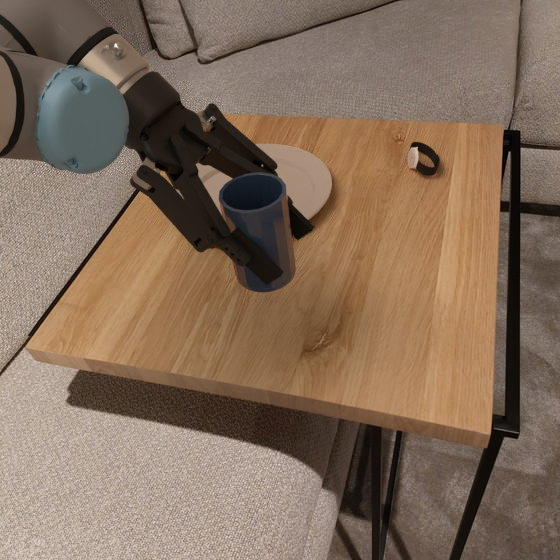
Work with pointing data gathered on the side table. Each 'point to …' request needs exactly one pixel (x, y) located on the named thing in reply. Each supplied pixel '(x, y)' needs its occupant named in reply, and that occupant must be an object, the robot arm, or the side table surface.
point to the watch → (415, 163)
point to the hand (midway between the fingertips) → (290, 255)
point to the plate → (284, 177)
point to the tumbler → (261, 224)
